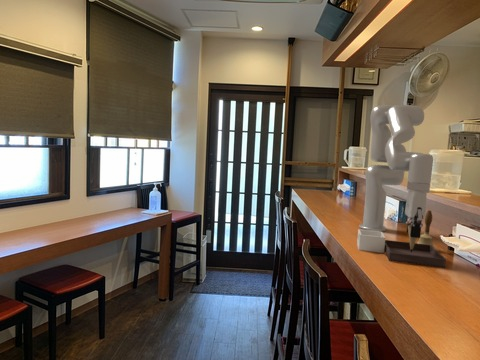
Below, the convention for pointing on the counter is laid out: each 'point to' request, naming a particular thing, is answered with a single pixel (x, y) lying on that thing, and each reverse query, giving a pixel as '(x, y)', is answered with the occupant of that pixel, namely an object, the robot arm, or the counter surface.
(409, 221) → the ice cream cone
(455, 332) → the counter surface
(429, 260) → the tray
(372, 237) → the frame
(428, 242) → the hand bell
